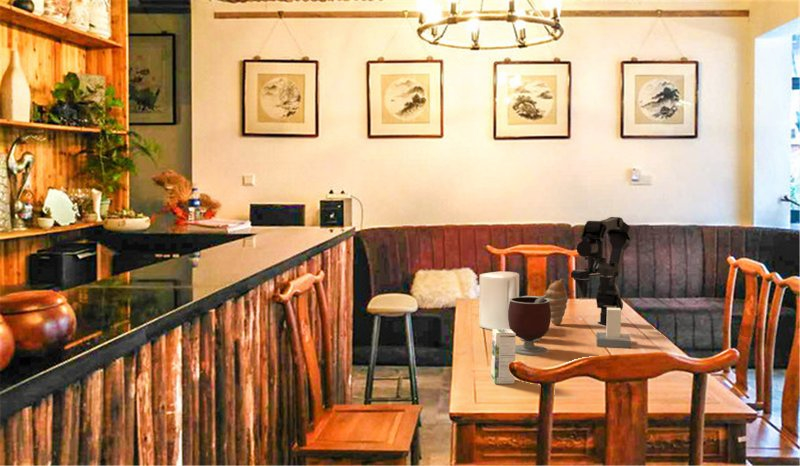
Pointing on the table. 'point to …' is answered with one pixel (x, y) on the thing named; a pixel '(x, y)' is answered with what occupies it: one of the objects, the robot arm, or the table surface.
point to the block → (613, 322)
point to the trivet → (613, 341)
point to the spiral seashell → (557, 300)
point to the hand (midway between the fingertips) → (594, 296)
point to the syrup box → (502, 355)
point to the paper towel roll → (496, 298)
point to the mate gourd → (529, 322)
